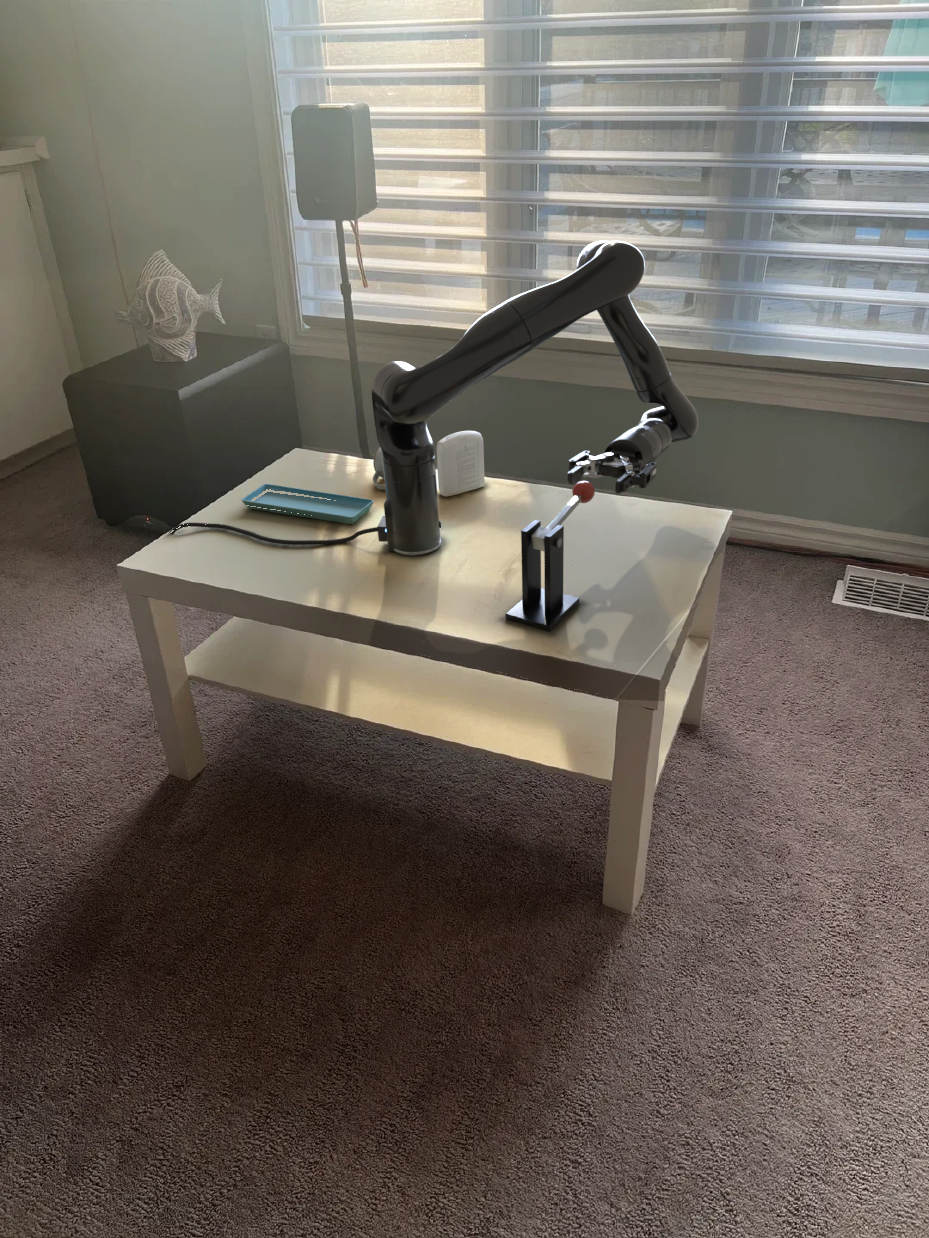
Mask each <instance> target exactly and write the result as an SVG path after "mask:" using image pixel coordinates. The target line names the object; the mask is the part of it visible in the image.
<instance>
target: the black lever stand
mask: <svg viewBox="0 0 929 1238" xmlns="http://www.w3.org/2000/svg"><path fill="white" fill-rule="evenodd" d="M541 525H542V523H541V520H538V519H534V520H533V521H532V522H531V523H529V524H528V525H526V526H525V527H524V528H523V529H521V530H520V543H521V545H520V547H521V549H520V550H521V587H522V588H521V595H522V596H521V597H522V598H521V600H520V601H518V602H517V603H516V604H515V605H514V606H512V607H511V609H509V610H508V611H507V612H506V613H505V620H506V621H509V622H513V623H517V624H520V625H522V626H523V625H524V626H528V627H530V628H534V629H538V630H542V631H544V632H548V633H551V632H552V631H553V630H554V629H555V628H556V627H557V626H558V625H559V624H560V623H561V622H562V621H563V620H564V619H565V618H566V617H567V616H568V615H569V614H571V613H572V611H574V609H575V608H576V607H578V605H580V597H578V596H574V595H570V594H565V593H564V552H565V551H564V546H565V545H564V544H565V542H564V538H565V537H564V536H565V535H564V533H565V532H564V531H565V529H564V528H565V527H564V525H562V524H561V525H557V526H556V527H555V528H554V529H552V530H551V531H550V532H549V533H547V534H546V535H545V536H544V551H543V552H544V553H543V554H544V555H543V556H544V561H543V563H544V588H543V587H542V551H540V550H536V549H533V546H532V538H531V536H532V535H533V534H534V533H535V531H536V530H537V529H538V528H539V527H542V526H541Z"/></svg>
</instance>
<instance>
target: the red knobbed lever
mask: <svg viewBox="0 0 929 1238" xmlns="http://www.w3.org/2000/svg"><path fill="white" fill-rule="evenodd" d="M571 490H572V491H571V493H572V498H571V499H570V500H569V501H568V502H567V503H566V504H565V506H564V507H563V508H562V509H561V510H560V511H559V513H558V514H557V515H556V516H555V517H554V518H553V519H552V520H551V521H550V523H549V524H548V525H547V526H546V527H544V526H541V527H539V528H538V529H537V530H536V531H535V533H534V534H533V535H532V536H531V538H532V546H533V549H536V550H540V551H541V552H544V536H545V535H546V534H547V533H549V532H550V531H551V530H552V529H554V528H555V527H556V526H557V525H561V526H562V524H563V523H564V522H565V521H566V520H567V519H568V517H569V516H570V515H571V514H572V513H573V512H574V510H576V508H577V507H578V506H579V505H580V504H587V503H589V502H590V501H592V500H593V499H594V497H595V492H596V490H595V486H594V485H593V484H592V483H591V482H589V481H588V480H579V481H578V482H577V483H575V484H574V485H573V487H572V489H571Z"/></svg>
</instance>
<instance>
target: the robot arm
mask: <svg viewBox="0 0 929 1238" xmlns="http://www.w3.org/2000/svg"><path fill="white" fill-rule="evenodd" d="M645 267H646V266H645V258H644V256H643V253H642V252H641V251H640V250H639V248H638V247H636V246H635V245H633V244H631V243H629V242H626V241H621V240H599V241H594V242H592V243H590V244H588V245H587V246H585V247H584V248H583V250H582V251H581V253H579V256H578V259H577V263H576V270H575V271H574V272H572V273H570V274H568V275H567V276H565V277H563V278H561V279H558V280H556V281H554V282H550V283H548V284H545V285H542V286H539V287H536V288H533V289H531V290H528V291H526V292H525V291H524V292H522V293H520V294H518V295H515V296H513V297H511V298H509V299H507V300H505V301H504V302H502V303H501V304H499V305H497V306H495V307H493V308H492V309H490V310H489V311H487V312H485V313H484V314H483V315H481V316H480V317H479V318H477V319H476V321H475V322H473V324H471V326H470V327H469V328H468V329H467V330H466V331H465V332H464V334H463V335H462V336H461V338H460V339H459V340H458V341H457V342H456V343H455V345H453V346H452V347H451V348H450V349H448V350H447V351H446V352H445V353H443V354H441V355H440V356H438V357H437V358H433V360H431V361H429V362H427V363H425V364H423V365H420V366H419V367H415V366H414V365H412V364H410V363H408V362H405V361H400V360H396V361H391V362H390V361H389V362H388V363H386V364H384V365H383V366H382V367H380V368H379V369H378V371H377V372H376V373H375V375H374V378H373V380H372V385H371V401H372V402H371V403H372V411H373V419H374V427H375V434H376V439H377V442H378V445H379V447H380V448H381V452H382V460H383V470H384V478H383V479H384V484H385V490H384V491H385V499H384V502H383V510H384V515H382V517H381V519H380V520H379V522H378V524H377V526H376V527H369V528H364V529H361V530H359V531H356V532H355V533H353V534H352V535H350V536H347V537H342V538H335V539H312V540H311V539H309V540H308V539H305V540H304V539H303V540H301V539H299V540H297V539H296V540H295V539H280V538H274V537H268V536H264V535H261V534H258V533H255V532H253V531H250V530H247V529H244V528H240V527H236V526H233V525H229V524H223V523H211V522H210V523H208V522H184V525H183V523H180V524H178V525H176V526H174V527H173V528H171V530H169V532H168V534H169V533H170V532H171V531H172V530H174V531H173V532H172V533H170V534H169V535H174V534H175V533H176V532H177V531H179V530H181V529H184V528H189V527H188V526H190V528H192V527H193V528H194V527H195V528H209V529H212V528H213V529H223V530H228V531H232V532H235V533H238V534H242V535H245V536H249V537H252V538H255V539H257V540H260V541H263V542H267V543H273V544H279V545H297V546H305V545H306V546H307V545H308V546H309V545H312V546H313V545H315V546H316V545H317V546H319V545H336V544H343V543H347V542H351V541H353V540H355V539H357V538H358V537H360V536H362V535H366V534H371V533H377V537H378V538H377V539H378V542H380V543H381V542H382V543H383V542H387V548H388V549H387V550H388V552H394V553H396V554H398V555H402V556H410V557H411V556H412V557H413V556H423V555H426V554H430V553H433V552H435V551H436V550H438V549H439V548H440V547H441V545H442V538H441V530H442V522H441V520H440V513H439V511H440V510H439V499H438V484H437V483H438V482H437V470H436V458H435V457H436V455H435V444H434V439H433V437H432V435H431V433H430V431H429V428H428V427H429V426H428V425H427V420H428V419H429V418H430V417H432V416H433V415H434V414H436V413H438V412H439V411H440V410H441V409H442V408H444V407H445V406H446V405H447V404H449V403H450V402H451V401H453V400H454V399H455V398H457V397H458V396H459V395H461V394H462V393H463V392H465V391H467V390H468V389H469V388H472V387H473V386H474V385H476V384H478V383H479V382H481V381H483V380H485V379H486V378H488V377H490V376H491V375H493V374H494V373H497V372H498V371H499V370H501V369H502V368H505V367H506V366H508V365H510V364H512V363H513V362H515V361H517V360H519V359H520V358H522V357H523V356H525V355H527V354H528V353H530V352H532V351H533V350H535V349H536V348H538V347H539V346H540V345H542V344H544V343H545V342H547V341H548V340H550V339H552V338H554V336H556V335H558V334H560V333H561V332H562V331H564V330H566V329H567V328H568V327H570V326H571V325H573V324H574V323H576V322H577V321H578V320H580V319H582V318H584V317H586V316H587V315H590V314H592V313H593V312H596V311H597V313H598V315H599V317H600V318H601V320H602V322H603V324H604V325H605V327H606V329H607V331H608V333H609V335H610V337H611V339H612V341H613V342H614V344H615V347H616V348H617V350H618V353H619V355H620V357H621V359H622V362H623V364H624V366H625V369H626V372H627V374H628V377H629V379H630V381H631V384H632V386H633V389H634V391H635V394H636V396H637V399H638V400H639V401H640V402H642V403H644V404H656V405H660V406H658V407H654V408H651V409H649V410H646V411H645V412H644V413H642V415H641V418H640V420H639V422H638V424H637V425H635V426H634V427H631V428H630V429H627V430H626V431H625V432H623V433H622V434H620V436H618V437H616V438H615V439H614V440H613V441H611V442H610V443H609V444H608V445H607V447H606V448H605V450H604V452H602V453H600V454H597V455H596V456H594V455H591V452H590V450H583V451H581V452H579V453H578V454H576V455H575V456H573V457H571V458H570V459H568V472H567V482H568V485H571V486H575V484H576V483H578V482H580V481H582V479H583V478H587V477H588V478H589V477H590V478H591V479H597V478H598V479H599V478H602V477H605V478H609V477H611V478H614V479H617V480H616V481H615V485H614V486H615V489H614V493H615V494H617V495H621V494H622V493H625V492H627V491H628V490H629V489H631V488H633V489H634V488H635V487H636V486H638V488H640V489H645V488H647V487H648V486H649V485H650V484H651V483H652V482H653V481H654V480H655V479H656V477H657V464H658V463H657V462H656V461H657V460H658V458H660V456H662V455H663V454H665V452H666V451H667V450H668V449H669V448H670V446H671V444H672V443H676V442H681V441H682V442H683V441H687V440H689V439H691V438H693V437H694V436H695V435H696V433H697V431H698V429H699V416H698V413H697V411H696V408H695V407H694V405H693V404H692V402H691V401H690V400H689V399H688V397H687V396H686V395H685V394H684V392H683V391H682V390H681V389H680V387H679V386H678V384H677V383H676V381H675V380H674V379H673V376H672V373H671V371H670V368H669V366H668V363H667V360H666V358H665V356H664V353H663V351H662V349H661V347H660V345H659V344H658V342H657V340H656V338H655V337H654V335H652V333H651V332H650V330H649V329H648V327H647V326H646V325H645V323H644V322H643V320H642V318H641V317H640V316H639V314H638V312H637V310H636V308H635V306H634V304H633V302H632V300H631V297H630V294H632V293H633V292H634V291H635V290H636V289H637V287H638V286H639V285H640V283H641V281H642V279H643V277H644V273H645ZM585 469H587V471H584V470H585ZM596 470H597V471H596ZM207 523H208V524H207ZM187 524H188V525H187ZM205 524H206V525H205ZM221 524H222V525H221ZM179 526H181V527H180V528H178V527H179ZM183 527H184V528H183ZM176 528H178V529H176Z"/></svg>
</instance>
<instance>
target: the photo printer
mask: <svg viewBox="0 0 929 1238" xmlns="http://www.w3.org/2000/svg"><path fill="white" fill-rule="evenodd" d="M435 448H436V467H437V481H438V482H437V483H438V484H437V485H438V491H439V494H440V495H441V496H443V497H451V496H455V495H459V494H462V493H466V492H469V491H473V490H477V489H479V488H482V487H484V486H485V485H486V479H485V452H484V451H485V450H484V449H485V448H484V438H483V436H482V434H481V432H478V431H476V430H462V431H457V432H453V433H451V434H448V435H446V436H444V437H442V438H441V439H440V440H438V442H437V443H436V447H435Z"/></svg>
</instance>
